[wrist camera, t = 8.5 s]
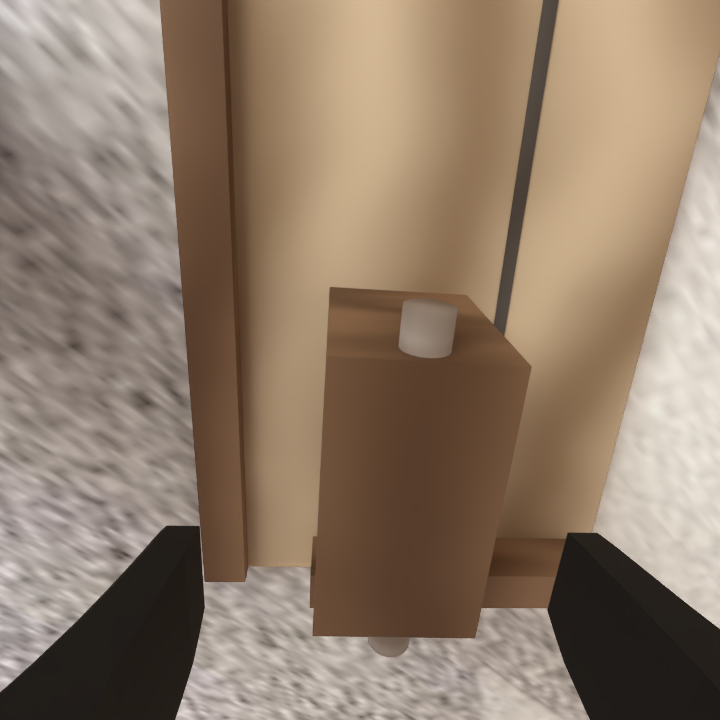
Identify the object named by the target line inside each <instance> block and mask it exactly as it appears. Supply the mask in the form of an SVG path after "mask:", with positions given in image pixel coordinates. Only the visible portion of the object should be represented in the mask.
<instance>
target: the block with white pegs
mask: <svg viewBox="0 0 720 720" xmlns="http://www.w3.org/2000/svg"><path fill="white" fill-rule="evenodd" d="M531 369H532V366H531V365H530V364H529V363H528V362H527V361H526V360H525V359H524V357H523V356H522V355H521V354H520V353H519V352H518V351H517V350H516V349H515V348H514V346H513V345H512V344H511V343H510V342H509V341H508V340H507V339H506V338H505V337H504V336H503V334H502V333H501V332H500V331H499V330H498V329H497V328H496V327H495V326H494V325H493V323H492V322H491V321H490V320H489V319H488V318H487V317H486V316H485V315H484V314H483V313H482V311H481V310H480V309H479V308H478V307H477V306H476V305H475V304H474V303H473V302H472V300H471V299H470V298H469V297H468V296H467V295H458V294H441V293H425V292H408V291H391V290H374V289H357V288H340V287H330V290H329V310H328V329H327V349H326V368H325V388H324V407H323V427H322V446H321V466H320V485H319V506H318V528H317V550H316V572H315V594H314V616H313V636H350V637H368V642H369V644H370V646H371V648H372V649H373V650H374V651H375V652H377V653H378V654H380V655H382V656H386V657H396V656H399V655H401V654H403V653H404V652H405V651H406V649H407V648H408V645H409V639H410V637H424V638H475V636H476V631H477V626H478V622H479V617H480V612H481V607H482V602H483V598H484V593H485V588H486V583H487V579H488V574H489V569H490V564H491V559H492V555H493V550H494V545H495V540H496V536H497V531H498V526H499V521H500V517H501V512H502V507H503V502H504V497H505V493H506V488H507V483H508V478H509V474H510V469H511V464H512V459H513V454H514V450H515V445H516V440H517V435H518V431H519V426H520V421H521V416H522V411H523V407H524V402H525V397H526V392H527V388H528V383H529V378H530V373H531Z"/></svg>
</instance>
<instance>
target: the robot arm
mask: <svg viewBox="0 0 720 720" xmlns="http://www.w3.org/2000/svg"><path fill="white" fill-rule="evenodd" d="M204 608H205V605H204V589H203V574H202V558H201V543H200V527H199V526H166V527H165V528H163V529H162V530H161V531H160V532H159V533H158V535H157V536H156V537H155V538H154V539H153V540H152V541H151V542H150V544H149V545H148V546H147V547H146V548H145V549H144V550H143V552H142V553H141V554H140V555H139V556H138V557H137V558H136V559H135V560H134V562H133V563H132V564H131V565H130V566H129V567H128V568H127V569H126V570H125V571H124V573H123V574H122V575H121V576H120V577H119V578H118V579H117V580H116V581H115V582H114V583H113V584H112V585H111V586H110V588H109V589H108V590H107V591H106V592H105V593H104V594H103V595H102V596H101V597H100V598H99V599H98V600H97V601H96V602H95V603H94V604H93V605H92V606H91V607H90V608H89V609H88V610H87V611H86V613H85V614H84V615H83V616H82V617H81V618H80V619H79V620H78V621H77V622H76V623H75V624H74V625H72V626H71V627H70V628H69V629H68V630H67V631H66V632H65V633H64V634H63V635H62V636H61V637H60V638H59V639H58V640H57V641H56V642H55V643H54V644H53V645H52V646H51V647H49V648H48V649H47V650H46V651H45V652H44V653H43V654H42V655H41V656H40V657H39V658H38V659H37V660H36V661H35V662H34V663H33V664H32V665H30V666H29V667H28V668H27V669H26V670H25V671H24V672H23V673H22V674H20V675H19V676H18V677H17V678H16V679H15V680H14V681H13V682H12V683H10V684H9V685H8V686H7V687H6V688H5V689H3V690H2V691H1V692H0V720H175V718H176V715H177V712H178V709H179V706H180V703H181V700H182V697H183V694H184V690H185V687H186V684H187V681H188V678H189V675H190V671H191V668H192V665H193V661H194V656H195V652H196V647H197V643H198V638H199V633H200V628H201V623H202V618H203V613H204ZM547 610H548V614H549V617H550V620H551V623H552V627H553V630H554V633H555V636H556V640H557V642H558V645H559V648H560V651H561V654H562V657H563V660H564V663H565V665H566V668H567V670H568V672H569V674H570V677H571V679H572V681H573V683H574V686H575V688H576V690H577V692H578V694H579V697H580V699H581V701H582V703H583V705H584V708H585V710H586V712H587V714H588V716H589V718H590V720H720V629H719V628H718V627H716V626H715V625H714V624H712V623H711V622H710V621H708V620H707V619H706V618H705V617H703V616H702V615H701V614H699V613H698V612H697V611H695V610H694V609H693V608H692V607H690V606H689V605H688V604H687V603H685V602H684V601H683V600H682V599H680V598H679V597H678V596H676V595H675V594H674V593H673V592H671V591H670V590H669V589H668V588H666V587H665V586H664V585H663V584H661V583H660V582H659V581H658V580H657V579H655V578H654V577H653V576H652V575H650V574H649V573H648V572H647V571H645V570H644V569H643V568H642V567H640V566H639V565H638V564H637V563H635V562H634V561H633V560H632V559H630V558H629V557H628V556H627V555H625V554H624V553H623V552H622V551H620V550H619V549H618V548H617V547H615V546H614V545H613V544H611V543H610V542H609V541H608V540H606V539H605V538H603V537H602V536H601V535H599V534H598V533H571V532H568V533H567V537H566V540H565V544H564V548H563V552H562V556H561V559H560V563H559V567H558V571H557V575H556V579H555V582H554V586H553V590H552V594H551V598H550V601H549V605H548V609H547Z"/></svg>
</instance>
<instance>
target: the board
mask: <svg viewBox="0 0 720 720" xmlns="http://www.w3.org/2000/svg"><path fill="white" fill-rule="evenodd" d="M160 11H161V23H162V36H163V49H164V62H165V75H166V88H167V101H168V114H169V127H170V139H171V152H172V165H173V178H174V191H175V204H176V217H177V230H178V243H179V255H180V268H181V281H182V294H183V307H184V320H185V333H186V346H187V358H188V371H189V384H190V397H191V410H192V423H193V436H194V449H195V462H196V474H197V487H198V500H199V513H200V526H201V539H202V552H203V565H204V578H205V582H245V580H246V575H247V570H248V566H276V567H311V579H310V608H314V594H315V572H316V550H317V528H318V506H319V485H320V466H321V446H322V427H323V407H324V388H325V368H326V349H327V329H328V310H329V290H330V287H340V288H357V289H374V290H391V291H408V292H425V293H441V294H458V295H467V296H468V297H469V298H470V299H471V300H472V302H473V303H474V304H475V305H476V306H477V307H478V308H479V309H480V310H481V311H482V313H483V314H484V315H485V316H486V317H487V318H488V319H489V320H490V321H491V322H492V323H493V325H494V326H495V327H496V328H497V329H498V330H499V331H500V332H501V333H502V334H503V336H504V337H505V338H506V339H507V340H508V341H509V342H510V343H511V344H512V345H513V346H514V348H515V349H516V350H517V351H518V352H519V353H520V354H521V355H522V356H523V357H524V359H525V360H526V361H527V362H528V363H529V364H530V365H531V366H532V369H531V373H530V378H529V383H528V388H527V392H526V397H525V402H524V407H523V411H522V416H521V421H520V426H519V431H518V435H517V440H516V445H515V450H514V454H513V459H512V464H511V469H510V474H509V478H508V483H507V488H506V493H505V497H504V502H503V507H502V512H501V517H500V521H499V526H498V531H497V536H496V540H495V545H494V550H493V555H492V559H491V564H490V569H489V574H488V579H487V583H486V588H485V593H484V598H483V602H482V607H481V608H548V605H549V601H550V598H551V594H552V590H553V586H554V582H555V579H556V575H557V571H558V567H559V563H560V559H561V556H562V552H563V548H564V544H565V540H566V537H567V533H568V532H571V533H592V530H593V526H594V522H595V519H596V515H597V511H598V507H599V504H600V500H601V496H602V492H603V489H604V485H605V481H606V477H607V474H608V470H609V466H610V462H611V459H612V455H613V451H614V447H615V444H616V440H617V436H618V432H619V429H620V425H621V421H622V417H623V414H624V410H625V406H626V402H627V399H628V395H629V391H630V387H631V384H632V380H633V376H634V372H635V369H636V365H637V361H638V357H639V354H640V350H641V346H642V342H643V339H644V335H645V331H646V327H647V324H648V320H649V316H650V312H651V309H652V305H653V301H654V297H655V294H656V290H657V286H658V282H659V279H660V275H661V271H662V267H663V264H664V260H665V256H666V252H667V249H668V245H669V241H670V237H671V234H672V230H673V226H674V222H675V219H676V215H677V211H678V207H679V204H680V200H681V196H682V192H683V189H684V185H685V181H686V177H687V174H688V170H689V166H690V162H691V159H692V155H693V151H694V147H695V144H696V140H697V136H698V132H699V129H700V125H701V121H702V117H703V114H704V110H705V106H706V102H707V99H708V95H709V91H710V87H711V84H712V80H713V76H714V72H715V69H716V65H717V61H718V57H719V54H720V0H160Z"/></svg>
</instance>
